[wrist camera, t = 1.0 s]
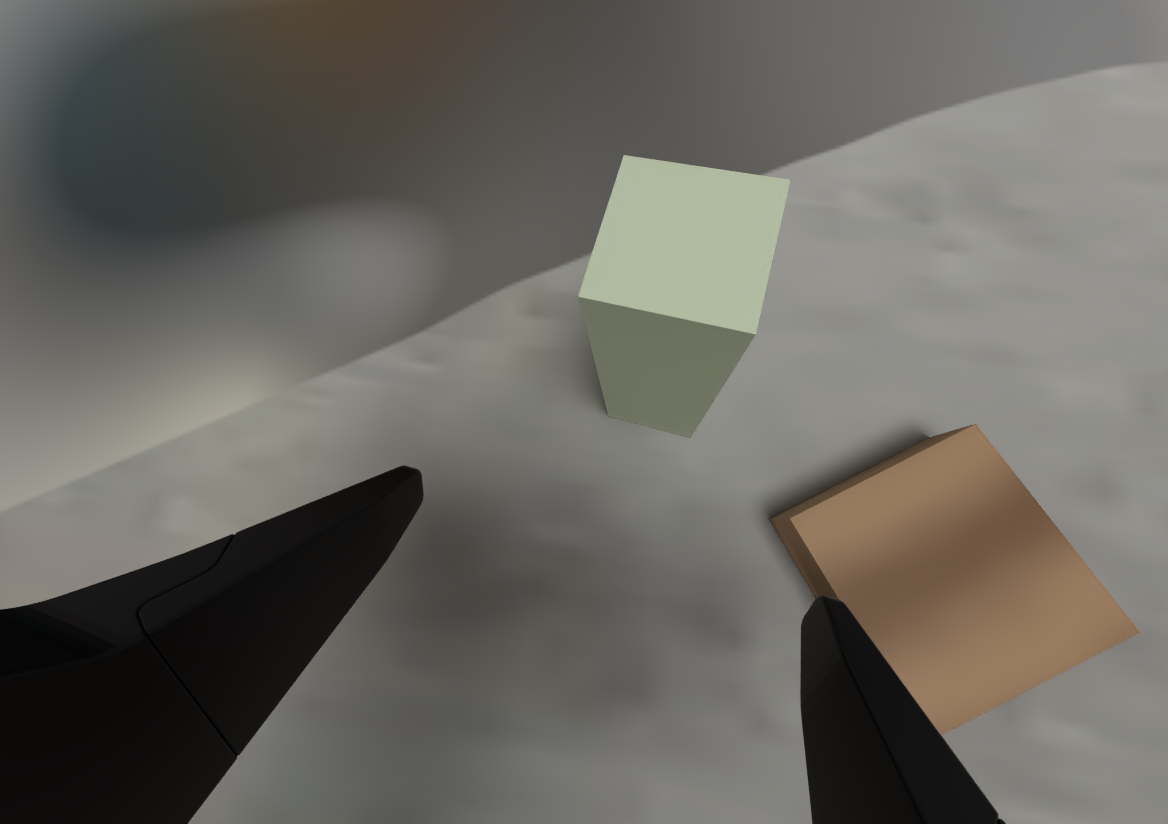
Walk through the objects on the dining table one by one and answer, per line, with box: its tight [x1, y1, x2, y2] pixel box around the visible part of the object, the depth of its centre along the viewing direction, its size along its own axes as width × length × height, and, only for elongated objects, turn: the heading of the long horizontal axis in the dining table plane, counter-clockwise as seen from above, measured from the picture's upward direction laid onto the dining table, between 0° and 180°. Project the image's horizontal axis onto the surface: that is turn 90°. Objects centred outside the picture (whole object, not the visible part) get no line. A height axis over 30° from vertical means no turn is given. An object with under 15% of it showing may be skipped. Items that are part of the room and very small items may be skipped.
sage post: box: [578, 155, 790, 438], centre depth 18 cm, size 4×4×13 cm
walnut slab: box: [769, 424, 1140, 735], centre depth 19 cm, size 9×9×3 cm
